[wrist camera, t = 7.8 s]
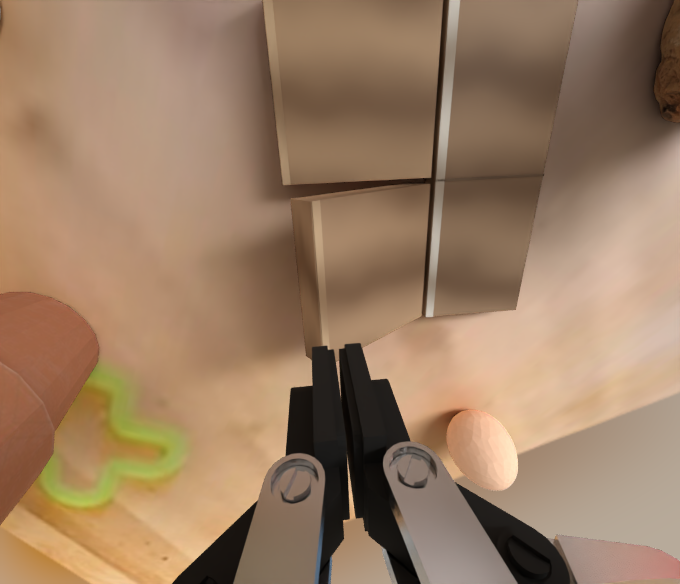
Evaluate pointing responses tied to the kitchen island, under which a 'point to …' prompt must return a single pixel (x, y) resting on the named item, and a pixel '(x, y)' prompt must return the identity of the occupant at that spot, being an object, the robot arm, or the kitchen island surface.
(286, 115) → the plank
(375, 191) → the plank
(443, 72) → the laid board
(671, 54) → the block
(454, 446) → the egg
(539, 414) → the kitchen island surface
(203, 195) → the kitchen island surface
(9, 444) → the potted plant
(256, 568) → the robot arm
